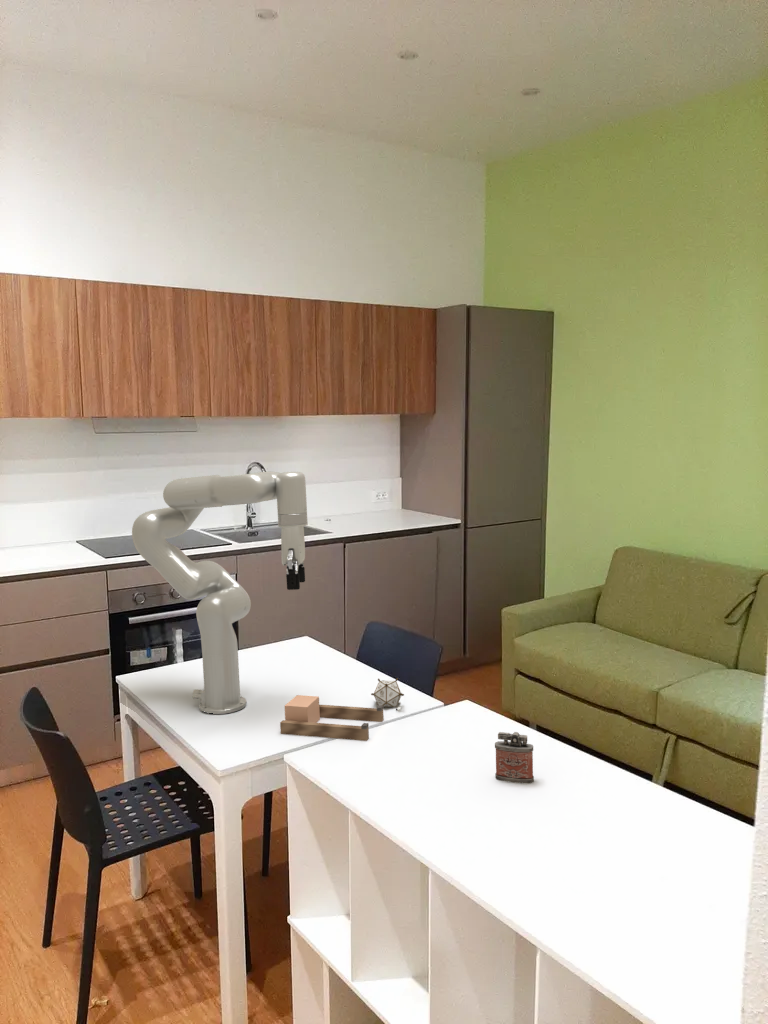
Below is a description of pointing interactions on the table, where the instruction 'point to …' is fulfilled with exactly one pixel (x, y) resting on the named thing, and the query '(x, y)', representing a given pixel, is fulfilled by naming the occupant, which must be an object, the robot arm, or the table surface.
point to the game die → (387, 693)
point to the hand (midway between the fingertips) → (296, 585)
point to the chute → (336, 729)
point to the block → (303, 709)
